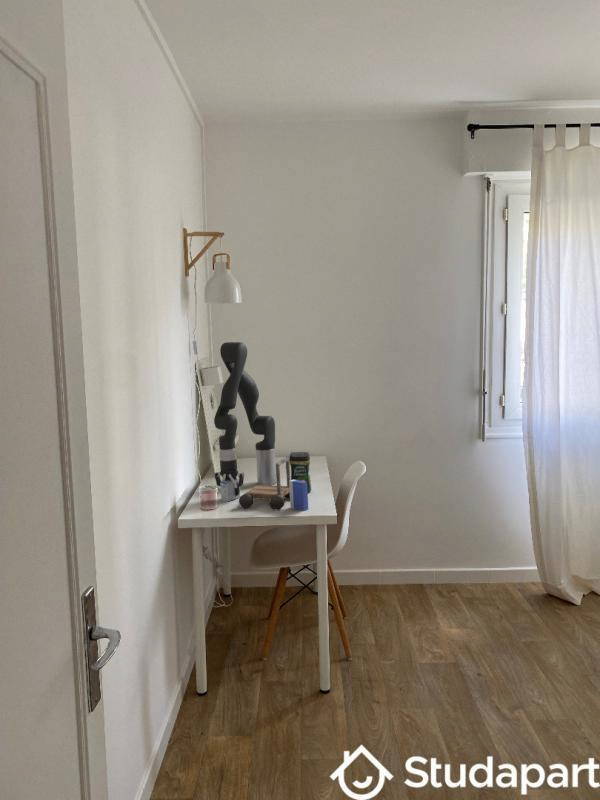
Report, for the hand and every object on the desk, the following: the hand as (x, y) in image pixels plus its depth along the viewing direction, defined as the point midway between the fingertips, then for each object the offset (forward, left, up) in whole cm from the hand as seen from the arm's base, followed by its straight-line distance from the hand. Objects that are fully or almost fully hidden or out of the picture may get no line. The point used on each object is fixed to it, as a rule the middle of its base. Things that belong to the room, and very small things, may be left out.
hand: (230, 495), depth 292 cm
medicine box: (0, 0, -2) cm, 2 cm away
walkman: (+10, +36, -2) cm, 37 cm away
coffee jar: (-16, +28, -2) cm, 32 cm away
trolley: (+4, +20, -2) cm, 20 cm away
